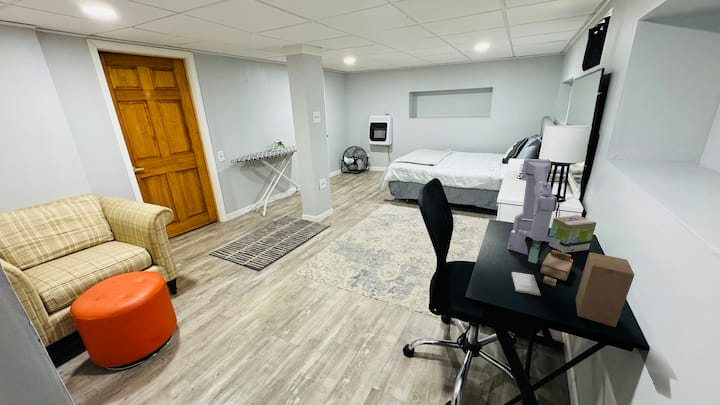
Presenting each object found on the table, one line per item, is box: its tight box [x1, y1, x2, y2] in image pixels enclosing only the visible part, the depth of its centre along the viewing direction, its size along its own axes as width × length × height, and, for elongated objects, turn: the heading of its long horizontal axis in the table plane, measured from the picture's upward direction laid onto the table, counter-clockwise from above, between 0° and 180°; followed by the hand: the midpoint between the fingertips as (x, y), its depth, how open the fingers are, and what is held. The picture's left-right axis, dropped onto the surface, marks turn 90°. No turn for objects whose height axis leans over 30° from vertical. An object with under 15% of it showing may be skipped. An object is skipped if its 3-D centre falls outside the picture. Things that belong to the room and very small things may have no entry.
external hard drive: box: [511, 271, 541, 296], centre depth 113 cm, size 2×8×12 cm
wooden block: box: [575, 251, 635, 328], centre depth 94 cm, size 10×10×20 cm
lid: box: [541, 249, 574, 273], centre depth 119 cm, size 9×12×3 cm
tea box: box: [548, 214, 597, 254], centre depth 137 cm, size 15×10×15 cm, turn 104°
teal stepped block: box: [527, 243, 540, 264], centre depth 116 cm, size 3×4×7 cm
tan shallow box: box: [539, 261, 574, 287], centre depth 118 cm, size 9×19×3 cm, turn 137°
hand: (534, 255), depth 117 cm, fingers closed on teal stepped block, 3 cm apart
